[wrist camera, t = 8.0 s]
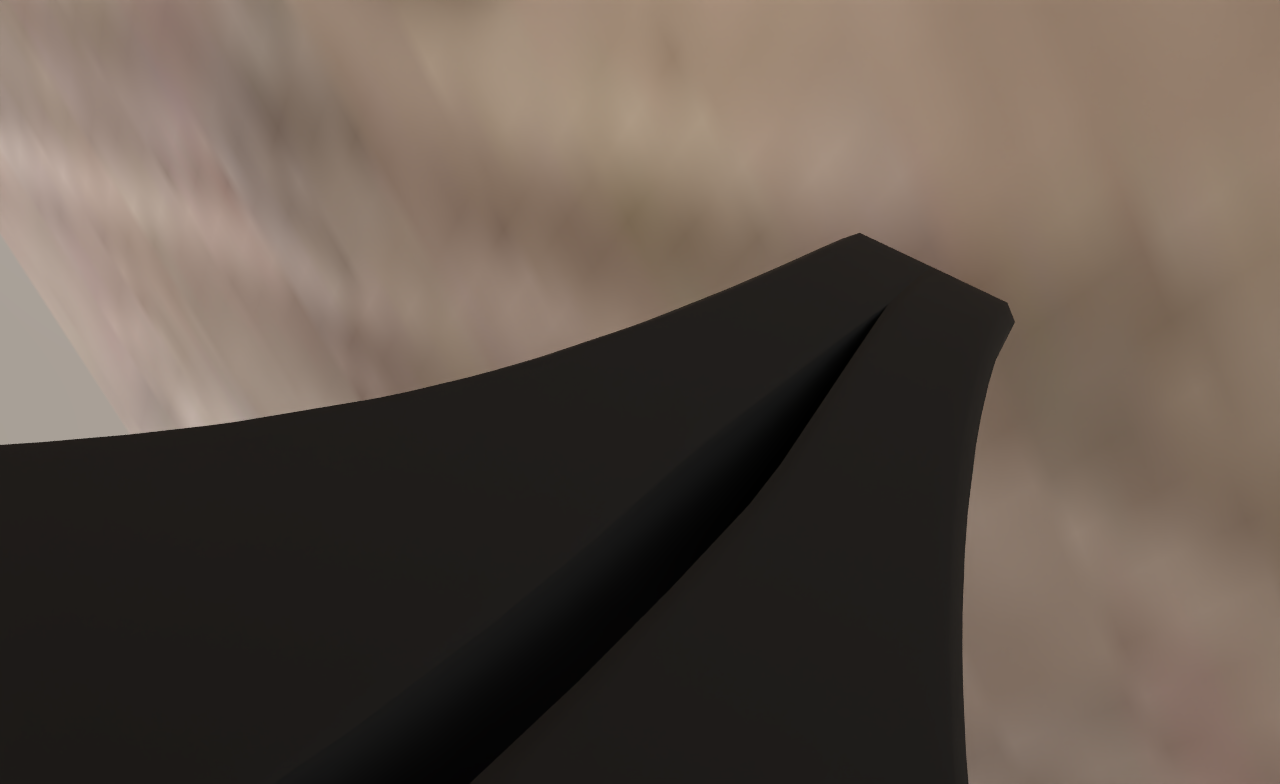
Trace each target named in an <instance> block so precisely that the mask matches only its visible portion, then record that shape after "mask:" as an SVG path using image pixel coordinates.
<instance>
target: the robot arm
mask: <svg viewBox="0 0 1280 784" xmlns="http://www.w3.org/2000/svg"><path fill="white" fill-rule="evenodd" d="M1014 323H1015V321H1014V319H1013V316H1012V314H1011V311H1010V308H1009V306H1008V303H1007V302H1005V301H1002V300H1000V299H998V298H996V297H994V296H992V295H990V294H988V293H986V292H983V291H981V290H979V289H977V288H975V287H973V286H971V285H969V284H967V283H964V282H962V281H960V280H958V279H956V278H954V277H952V276H950V275H948V274H945V273H943V272H941V271H939V270H937V269H935V268H933V267H931V266H929V265H926V264H924V263H922V262H920V261H918V260H916V259H914V258H912V257H910V256H907V255H905V254H903V253H901V252H899V251H897V250H895V249H893V248H891V247H888V246H886V245H884V244H882V243H880V242H878V241H876V240H874V239H872V238H869V237H867V236H865V235H863V234H861V233H858V234H855V235H852V236H849V237H846V238H843V239H841V240H838V241H836V242H834V243H832V244H829V245H827V246H825V247H822V248H820V249H818V250H816V251H813V252H811V253H809V254H807V255H804V256H802V257H800V258H798V259H795V260H793V261H791V262H789V263H787V264H784V265H782V266H780V267H777V268H775V269H773V270H771V271H768V272H766V273H764V274H761V275H759V276H757V277H754V278H752V279H750V280H747V281H745V282H743V283H740V284H738V285H736V286H733V287H731V288H729V289H726V290H724V291H721V292H719V293H716V294H714V295H711V296H709V297H706V298H704V299H701V300H699V301H696V302H694V303H691V304H689V305H686V306H684V307H681V308H679V309H676V310H673V311H671V312H668V313H666V314H663V315H661V316H658V317H656V318H653V319H651V320H648V321H645V322H643V323H640V324H637V325H634V326H632V327H629V328H626V329H623V330H620V331H617V332H614V333H611V334H608V335H605V336H602V337H599V338H596V339H593V340H590V341H587V342H584V343H581V344H578V345H575V346H572V347H569V348H566V349H563V350H560V351H557V352H554V353H551V354H548V355H545V356H542V357H539V358H535V359H532V360H529V361H525V362H522V363H518V364H515V365H512V366H508V367H505V368H501V369H498V370H494V371H490V372H487V373H483V374H479V375H475V376H472V377H468V378H464V379H460V380H456V381H452V382H447V383H443V384H439V385H435V386H430V387H426V388H422V389H418V390H414V391H409V392H405V393H400V394H395V395H390V396H386V397H381V398H376V399H370V400H364V401H358V402H352V403H346V404H340V405H334V406H328V407H322V408H316V409H310V410H304V411H298V412H292V413H286V414H280V415H274V416H268V417H262V418H256V419H250V420H245V421H239V422H232V423H225V424H217V425H210V426H201V427H192V428H184V429H175V430H166V431H157V432H149V433H140V434H131V435H120V436H108V437H97V438H86V439H74V440H63V441H51V442H39V443H24V444H10V445H9V444H8V445H0V784H968V773H967V760H966V745H965V722H964V699H963V665H962V612H963V584H964V558H965V541H966V528H967V515H968V505H969V497H970V489H971V481H972V473H973V465H974V456H975V448H976V442H977V436H978V430H979V424H980V419H981V414H982V410H983V406H984V401H985V397H986V393H987V388H988V384H989V380H990V377H991V374H992V370H993V367H994V364H995V361H996V358H997V356H998V354H999V352H1000V350H1001V348H1002V346H1003V344H1004V342H1005V340H1006V338H1007V336H1008V334H1009V332H1010V331H1011V329H1012V327H1013V325H1014Z"/></svg>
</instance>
